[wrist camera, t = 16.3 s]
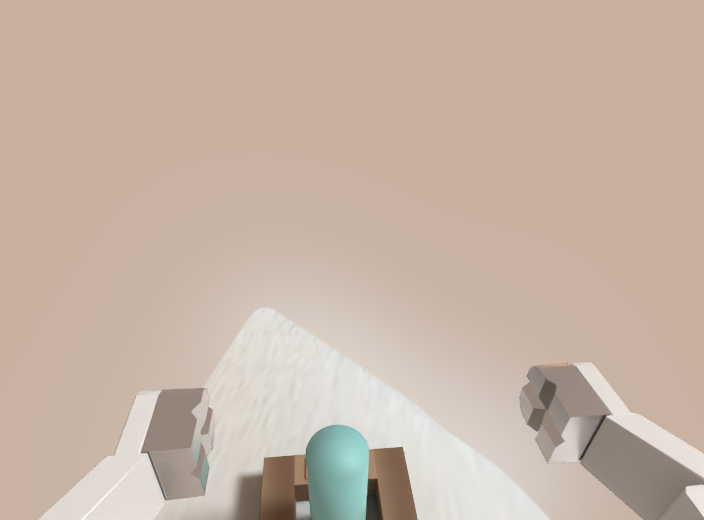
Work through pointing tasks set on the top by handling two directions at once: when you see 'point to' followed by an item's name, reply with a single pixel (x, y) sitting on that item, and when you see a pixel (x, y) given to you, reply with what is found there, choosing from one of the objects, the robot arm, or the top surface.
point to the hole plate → (383, 480)
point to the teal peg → (337, 474)
